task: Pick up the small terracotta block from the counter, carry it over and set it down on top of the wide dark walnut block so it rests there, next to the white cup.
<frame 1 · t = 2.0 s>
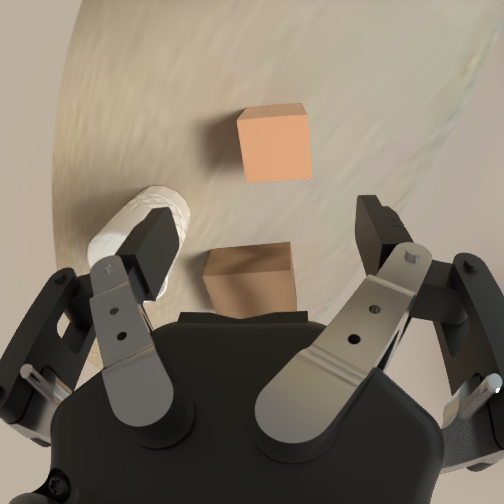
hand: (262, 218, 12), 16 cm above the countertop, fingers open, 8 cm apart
walnut block: (256, 274, 36), on the countertop
white cup: (162, 211, 32), on the countertop
terracotta block: (276, 131, 26), on the countertop
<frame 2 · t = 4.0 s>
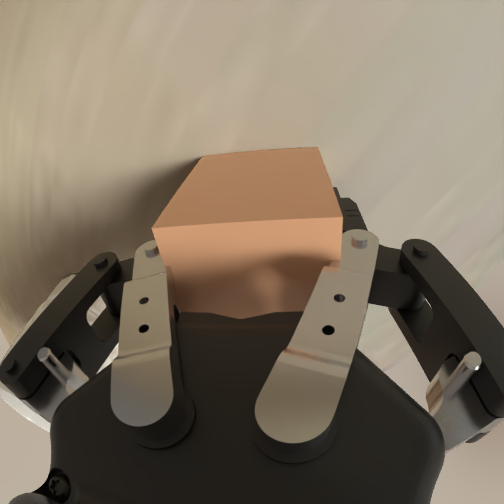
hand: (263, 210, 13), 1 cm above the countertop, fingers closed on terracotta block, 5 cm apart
white cup: (97, 305, 20), on the countertop
terracotta block: (265, 201, 14), on the countertop, touching gripper
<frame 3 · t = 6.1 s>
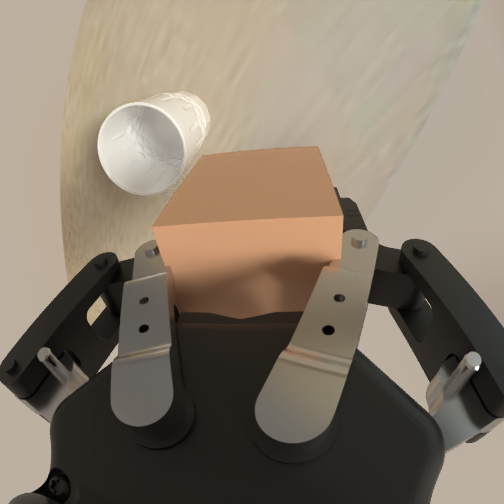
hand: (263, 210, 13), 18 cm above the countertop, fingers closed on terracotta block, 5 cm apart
white cup: (180, 120, 29), on the countertop
terracotta block: (265, 201, 14), point 18 cm above the countertop, touching gripper
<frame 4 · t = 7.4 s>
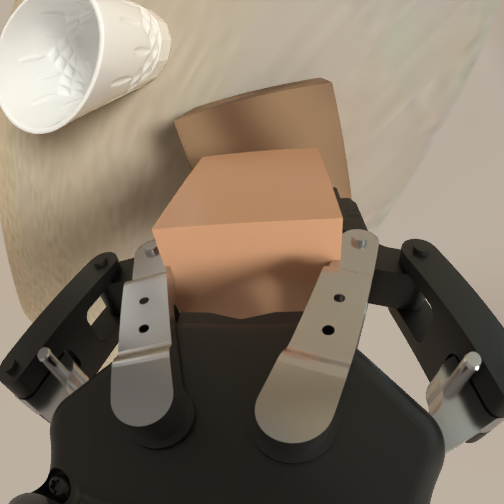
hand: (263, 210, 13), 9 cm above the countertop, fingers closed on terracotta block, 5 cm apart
walnut block: (272, 147, 21), on the countertop
white cup: (131, 49, 17), on the countertop
terracotta block: (264, 202, 14), point 9 cm above the countertop, touching gripper
when the fingers open (7 cm above the countertop, at t = 8.3 s): terracotta block drops 2 cm, resting on walnut block.
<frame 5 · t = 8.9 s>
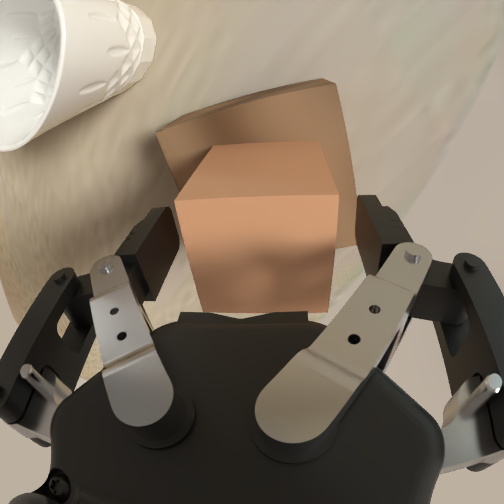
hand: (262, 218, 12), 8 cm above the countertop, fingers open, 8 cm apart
walnut block: (270, 157, 19), on the countertop, touching terracotta block
white cup: (113, 49, 15), on the countertop
terracotta block: (268, 189, 15), point 5 cm above the countertop, touching walnut block
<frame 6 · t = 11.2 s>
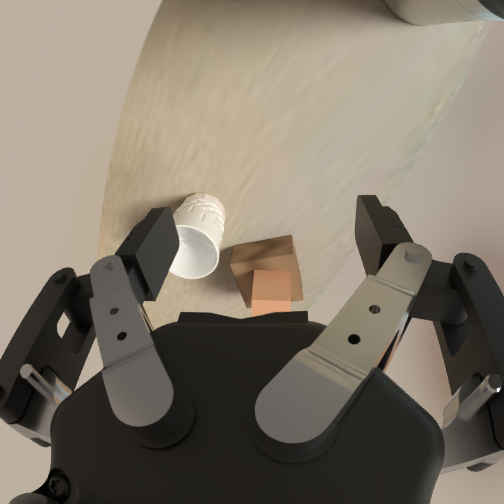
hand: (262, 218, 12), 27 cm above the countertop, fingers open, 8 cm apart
walnut block: (269, 262, 48), on the countertop, touching terracotta block
white cup: (203, 212, 43), on the countertop
terracotta block: (271, 283, 44), point 5 cm above the countertop, touching walnut block
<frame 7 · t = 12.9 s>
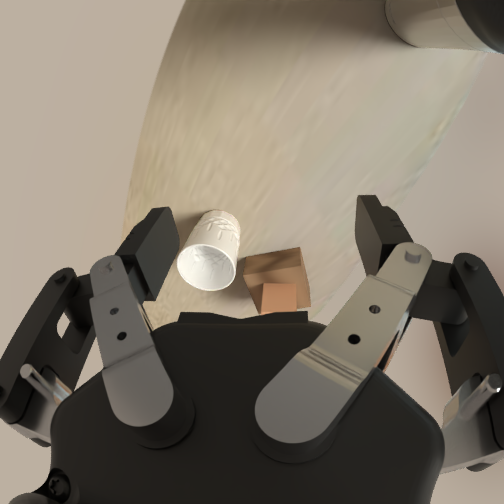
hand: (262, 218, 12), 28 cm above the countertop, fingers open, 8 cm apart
walnut block: (279, 271, 51), on the countertop, touching terracotta block
white cup: (219, 227, 47), on the countertop
terracotta block: (279, 295, 48), point 5 cm above the countertop, touching walnut block
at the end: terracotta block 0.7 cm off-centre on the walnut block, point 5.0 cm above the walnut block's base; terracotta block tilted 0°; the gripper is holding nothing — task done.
